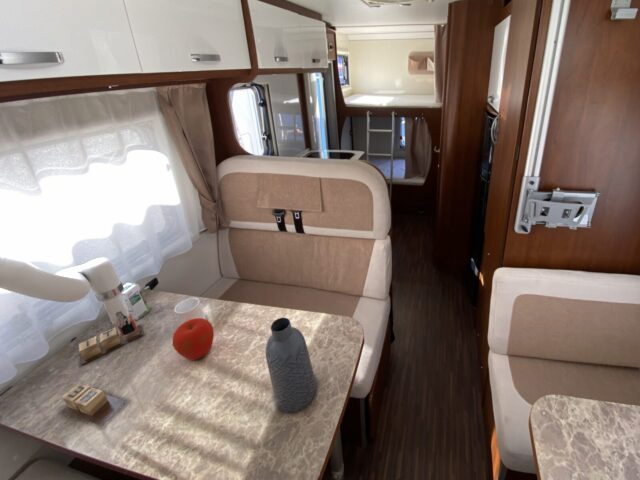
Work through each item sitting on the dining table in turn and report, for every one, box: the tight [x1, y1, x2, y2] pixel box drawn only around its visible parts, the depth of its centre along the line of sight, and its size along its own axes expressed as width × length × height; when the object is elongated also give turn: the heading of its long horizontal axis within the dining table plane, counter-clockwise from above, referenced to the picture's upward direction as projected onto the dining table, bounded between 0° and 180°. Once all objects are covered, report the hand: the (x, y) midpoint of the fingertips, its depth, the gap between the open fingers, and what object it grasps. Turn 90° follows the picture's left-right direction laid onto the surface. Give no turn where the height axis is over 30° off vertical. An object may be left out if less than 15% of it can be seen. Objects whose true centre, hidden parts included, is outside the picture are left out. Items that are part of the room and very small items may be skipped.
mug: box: [173, 297, 207, 326], centre depth 118 cm, size 12×8×10 cm
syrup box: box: [122, 282, 151, 321], centre depth 123 cm, size 6×6×14 cm
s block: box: [116, 314, 138, 336], centre depth 113 cm, size 4×4×5 cm
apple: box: [172, 318, 215, 361], centre depth 104 cm, size 12×12×14 cm
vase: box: [265, 317, 317, 414], centre depth 87 cm, size 12×12×28 cm
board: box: [78, 324, 144, 366], centre depth 111 cm, size 17×7×6 cm, turn 134°
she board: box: [61, 382, 128, 427], centre depth 90 cm, size 17×7×6 cm, turn 74°
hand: (128, 328), depth 114 cm, fingers closed on s block, 4 cm apart
